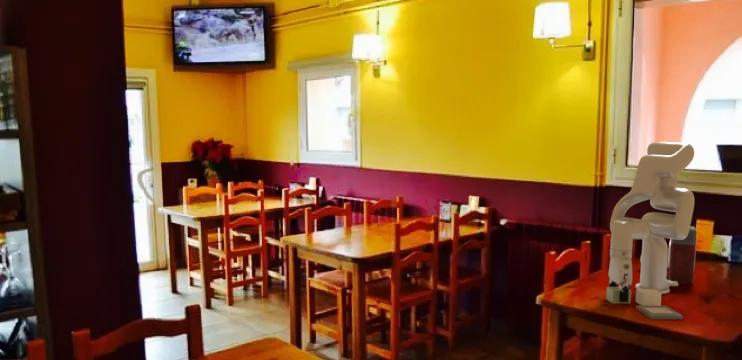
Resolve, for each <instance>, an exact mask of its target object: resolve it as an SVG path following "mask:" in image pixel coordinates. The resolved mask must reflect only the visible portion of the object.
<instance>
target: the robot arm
mask: <svg viewBox="0 0 742 360" xmlns="http://www.w3.org/2000/svg"><path fill="white" fill-rule="evenodd" d="M646 153H647V154H646V155H643V156H642V157H640V159H639V161H638V163H637V167H636V172H635V176H634V180H633V182H632V186H631V189H630V191H629V192H628V193H627V194H625V195H624V196H623V197H621V198H620V199H619V200H618V202H616V205H614V208H613V210H612V214H611V217H610V223H609V229H610V233H611V234H610V235H611V236H610V249H609V257H610V259H609V260H610V261H609V268H608V272H607V274H608V280H609V281H608V287H620V289H621V291H620V295H619V301H620V302H628V297H629V291H630V290H631V286H632V283H633V261H632V256H633V244H634V243H633V242H634V240H642V242H641V243H642V246H641V255H642V259H641V262H640V276H639V282H638V283H636V284H635V289H655V290H657V291H659V292H660V293H662V294H661V295H663V294H664V295H665V294H669V293H670V292H671V286H672V287H678V286H679V283H678V282H677V281H671V280H669V279H667V278H668V277H667V275H668V253H669V245H668V244H667V241H666V239H668V240H669V239H674V240H683V239H685V238H686V237H687V235H688V233H689V229H690V226H691V223H692V220H693V218H692V217H693V213H694V208H695V196H694V193H693V192H692V191H691V190H689V189H687V188H680V187H677V186H678V185H677V184H678V181H679V180H678V179H679V178H678V177H679V175H680V174H681V173H682V172H683V171H684V170H685V169H686V168H687V167H688V166H689V165H690V164H691V163H692V162H693V160H694V157H695V148H694V146H693V145H691V144H690V143H687V142H673V141H672V142H671V141H670V142H669V141H654V142H651V143H650V144H649V145H648V146H647V150H646ZM648 200H649V204H650V206H651V207H652V208H654V209H656V210H660V211H665V212H666V211H667V212H673V213H675V214H669V213H664V212H663V213H662V212H654V211H653V212H647V213H646V214H644V215H643V216H642V217H641V218H640V219H639V218H634V217H627V216H626V213H627V211H628V210H629V209H630V208H631V207H633V206H634V205H636V204H638V203H642V202H645V201H648ZM623 287H624V288H623Z"/></svg>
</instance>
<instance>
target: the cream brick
mask: <svg viewBox="0 0 742 360" xmlns="http://www.w3.org/2000/svg"><path fill="white" fill-rule="evenodd" d="M635 289H636V290H635V303H637V304H639V306H662V304H661V303H662V295H663V294H662V293H660V292H659V291H657V290H655V289H637V288H635Z"/></svg>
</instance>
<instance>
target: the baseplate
mask: <svg viewBox="0 0 742 360" xmlns="http://www.w3.org/2000/svg"><path fill="white" fill-rule="evenodd" d="M635 309H636V310H637V311H639V312H640V313H642V314H643V315H644V316H646V318H649V319H650V320H683V319H684V317H683V315H682V314H681V313H679V312H677V311H676V310H674V309H672V308H671V307H669V306H667V305H661V306H642V305H636V307H635Z"/></svg>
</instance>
